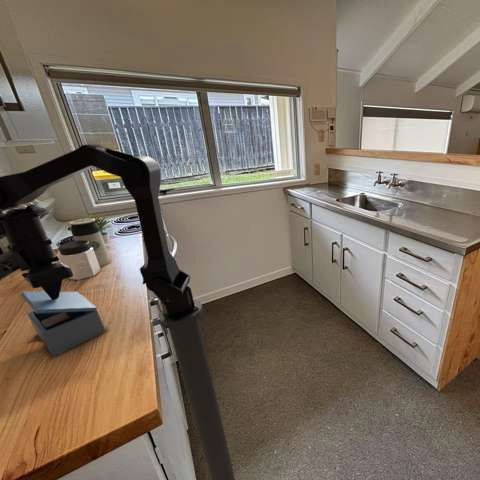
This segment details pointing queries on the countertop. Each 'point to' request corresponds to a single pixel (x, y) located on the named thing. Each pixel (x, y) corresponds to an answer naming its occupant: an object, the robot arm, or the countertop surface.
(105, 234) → the house plant
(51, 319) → the block
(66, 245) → the jar
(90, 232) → the travel mug
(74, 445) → the countertop surface
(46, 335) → the chest
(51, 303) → the lid
